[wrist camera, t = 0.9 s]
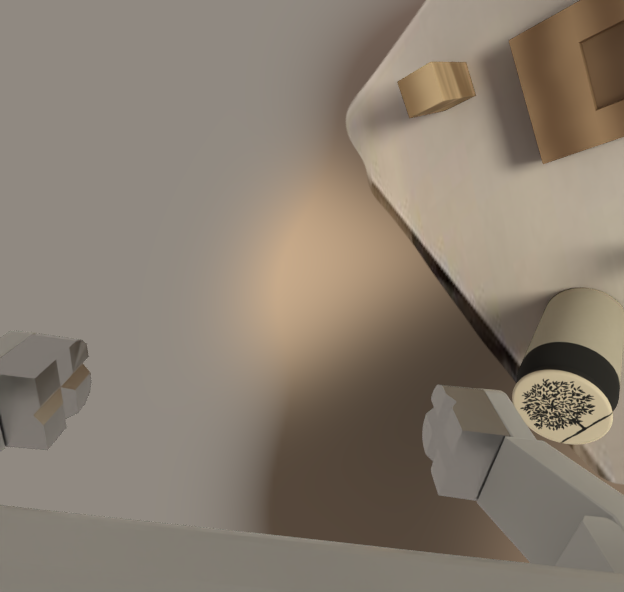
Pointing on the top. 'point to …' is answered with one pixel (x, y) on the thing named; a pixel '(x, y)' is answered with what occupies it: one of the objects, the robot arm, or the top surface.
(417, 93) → the pin
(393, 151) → the top surface
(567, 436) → the travel mug
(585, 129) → the socket block
